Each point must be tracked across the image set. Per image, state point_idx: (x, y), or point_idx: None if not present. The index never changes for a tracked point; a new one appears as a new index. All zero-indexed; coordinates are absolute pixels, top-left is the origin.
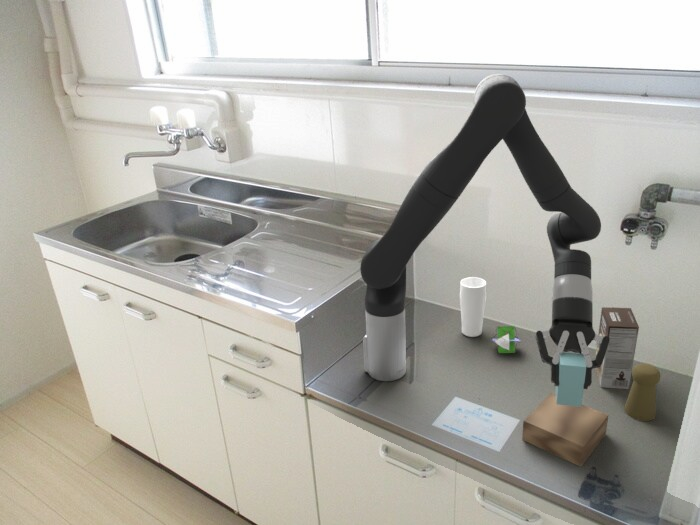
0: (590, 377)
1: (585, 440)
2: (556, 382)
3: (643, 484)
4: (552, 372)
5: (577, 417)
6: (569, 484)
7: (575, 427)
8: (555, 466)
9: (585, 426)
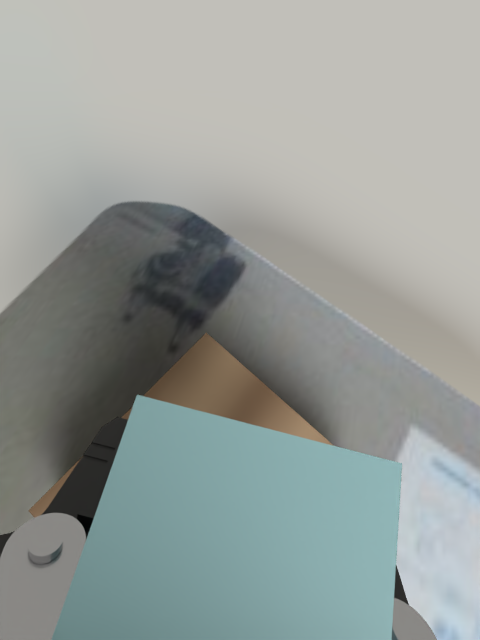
0: (91, 457)
1: (188, 360)
2: None
3: (74, 286)
4: None
5: None
6: (254, 298)
7: None
8: (271, 358)
9: None
